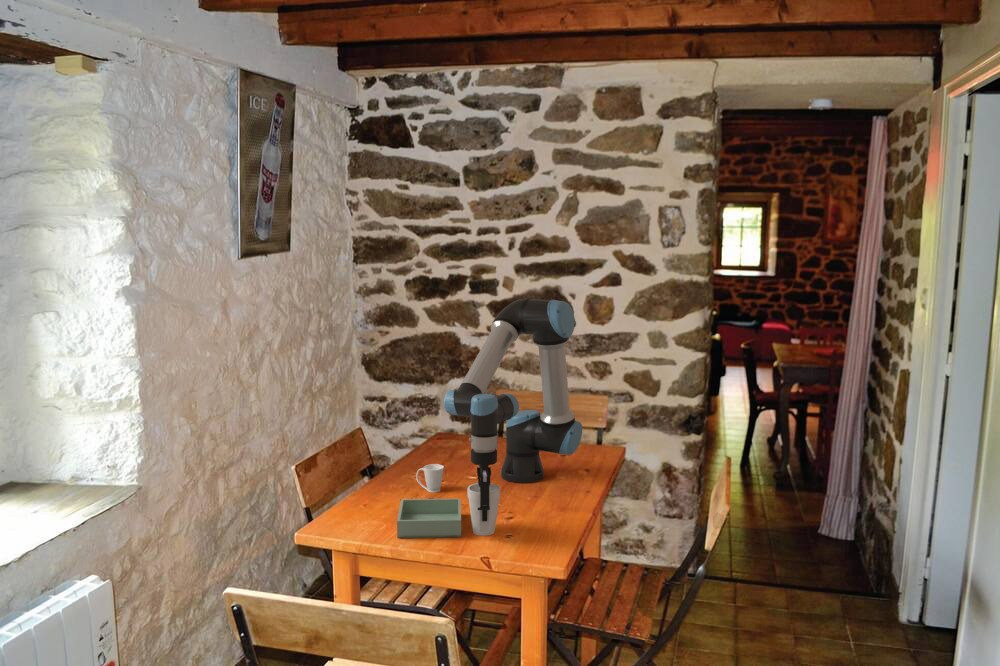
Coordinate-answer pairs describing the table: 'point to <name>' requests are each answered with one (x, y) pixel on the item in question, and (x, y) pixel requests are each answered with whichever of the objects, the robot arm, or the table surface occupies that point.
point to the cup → (432, 477)
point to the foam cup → (475, 504)
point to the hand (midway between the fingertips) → (483, 524)
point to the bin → (429, 518)
